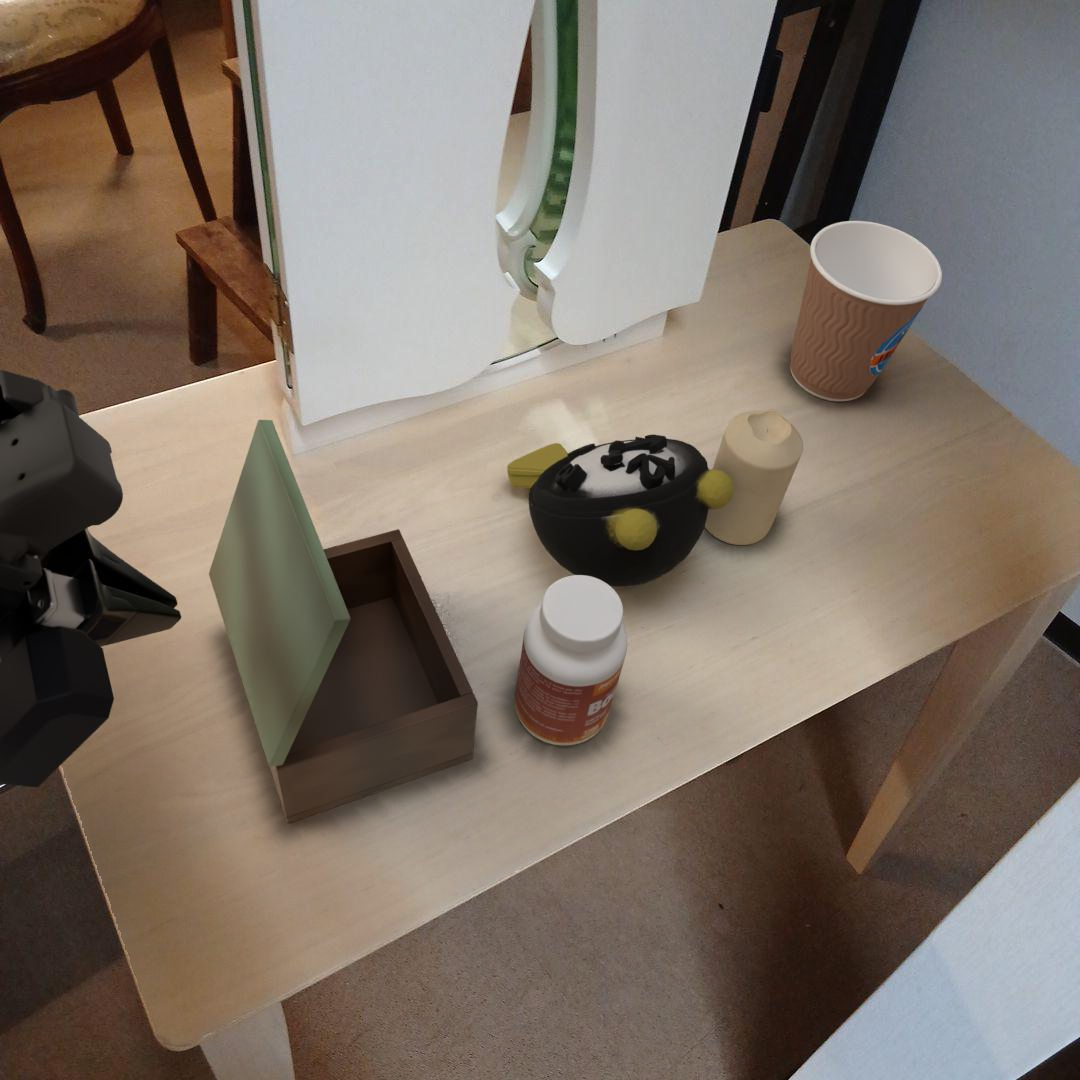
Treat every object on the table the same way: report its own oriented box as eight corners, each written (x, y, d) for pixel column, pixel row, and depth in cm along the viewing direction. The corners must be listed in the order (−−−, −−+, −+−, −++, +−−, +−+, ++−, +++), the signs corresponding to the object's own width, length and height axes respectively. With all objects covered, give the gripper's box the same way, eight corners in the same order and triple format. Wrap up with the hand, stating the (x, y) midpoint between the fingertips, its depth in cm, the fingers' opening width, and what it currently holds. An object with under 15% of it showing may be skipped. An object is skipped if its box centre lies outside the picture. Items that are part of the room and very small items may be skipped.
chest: (399, 591, 73) (399, 528, 68) (472, 759, 66) (478, 703, 61) (230, 640, 70) (215, 577, 64) (287, 823, 62) (276, 770, 57)
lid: (272, 419, 57) (257, 418, 56) (351, 618, 49) (335, 619, 49) (221, 573, 64) (207, 573, 64) (283, 765, 57) (268, 767, 56)
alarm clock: (634, 506, 85) (757, 401, 74) (614, 661, 76) (750, 567, 66) (508, 440, 82) (618, 319, 71) (471, 595, 73) (591, 484, 62)
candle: (689, 530, 79) (720, 436, 72) (710, 481, 83) (741, 386, 75) (760, 556, 78) (799, 463, 71) (778, 505, 82) (817, 412, 74)
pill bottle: (593, 762, 67) (621, 667, 58) (500, 731, 67) (514, 633, 59) (619, 682, 70) (648, 582, 62) (530, 653, 71) (547, 551, 63)
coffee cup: (874, 432, 88) (930, 318, 79) (756, 390, 90) (796, 273, 81) (898, 359, 94) (952, 245, 85) (787, 321, 96) (828, 205, 87)
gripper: (-18, 588, 35) (331, 667, 47) (-71, 250, 45) (227, 387, 57) (-188, 777, 38) (177, 806, 50) (-201, 424, 48) (106, 519, 61)
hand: (174, 613), depth 54 cm, fingers closed
